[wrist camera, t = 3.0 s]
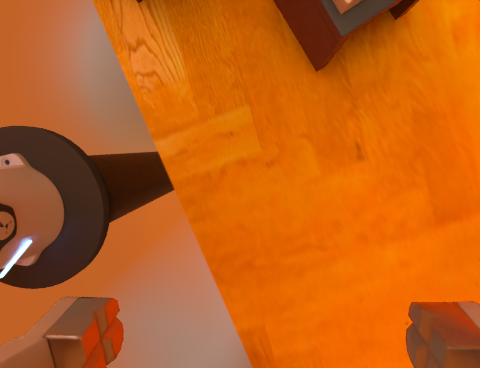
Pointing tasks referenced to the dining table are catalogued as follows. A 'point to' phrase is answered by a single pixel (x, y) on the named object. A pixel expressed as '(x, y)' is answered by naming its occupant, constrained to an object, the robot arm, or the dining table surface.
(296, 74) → the dining table surface
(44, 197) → the robot arm
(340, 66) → the dining table surface
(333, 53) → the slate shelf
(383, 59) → the dining table surface
